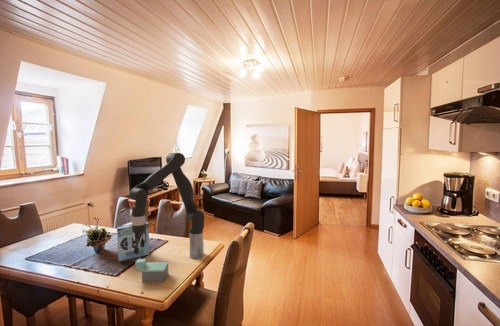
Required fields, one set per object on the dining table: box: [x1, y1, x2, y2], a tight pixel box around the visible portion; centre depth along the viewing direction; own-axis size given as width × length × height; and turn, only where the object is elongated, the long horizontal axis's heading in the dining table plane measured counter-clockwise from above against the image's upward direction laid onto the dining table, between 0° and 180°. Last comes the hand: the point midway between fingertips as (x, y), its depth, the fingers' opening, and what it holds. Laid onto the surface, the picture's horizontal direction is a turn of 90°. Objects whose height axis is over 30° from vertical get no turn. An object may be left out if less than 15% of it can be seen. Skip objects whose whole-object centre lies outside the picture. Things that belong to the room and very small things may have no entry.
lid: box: [134, 258, 169, 273], centre depth 141 cm, size 17×9×4 cm, turn 93°
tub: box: [141, 264, 169, 284], centre depth 142 cm, size 12×9×7 cm
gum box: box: [116, 221, 150, 262], centre depth 167 cm, size 20×5×23 cm, turn 123°
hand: (139, 250), depth 140 cm, fingers open, 8 cm apart
